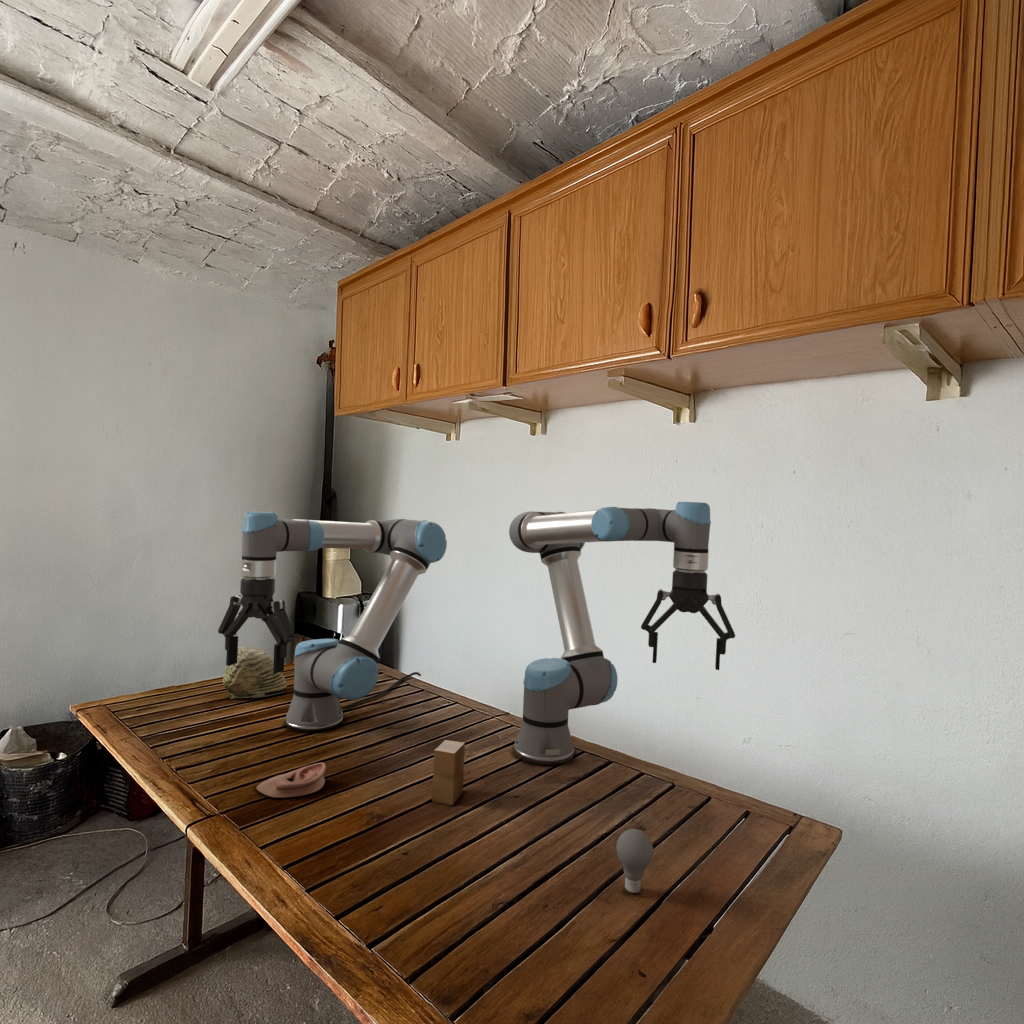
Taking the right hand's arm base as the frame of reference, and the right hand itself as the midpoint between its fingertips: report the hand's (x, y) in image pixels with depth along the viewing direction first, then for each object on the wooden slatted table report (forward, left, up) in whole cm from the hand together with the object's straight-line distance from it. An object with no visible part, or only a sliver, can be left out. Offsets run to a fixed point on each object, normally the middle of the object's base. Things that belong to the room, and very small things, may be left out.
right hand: (685, 665), depth 142 cm
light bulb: (+40, +11, -29) cm, 50 cm away
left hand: (+60, -79, -7) cm, 99 cm away
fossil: (+35, -126, -29) cm, 134 cm away
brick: (+38, -35, -29) cm, 60 cm away
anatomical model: (+60, -62, -29) cm, 91 cm away
